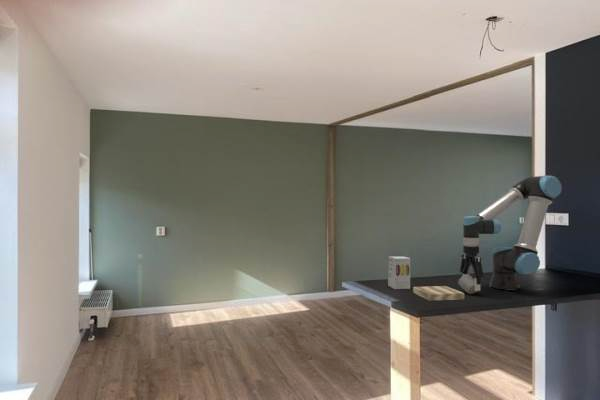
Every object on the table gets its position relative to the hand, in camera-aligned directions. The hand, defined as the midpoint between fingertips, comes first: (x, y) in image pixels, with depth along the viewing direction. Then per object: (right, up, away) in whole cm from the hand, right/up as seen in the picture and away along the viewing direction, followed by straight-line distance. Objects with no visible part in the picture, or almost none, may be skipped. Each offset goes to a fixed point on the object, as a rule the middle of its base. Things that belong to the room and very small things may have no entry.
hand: (471, 288), depth 214 cm
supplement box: (-34, -3, +15) cm, 37 cm away
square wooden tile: (-19, -2, -6) cm, 20 cm away
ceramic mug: (0, -3, +1) cm, 3 cm away
